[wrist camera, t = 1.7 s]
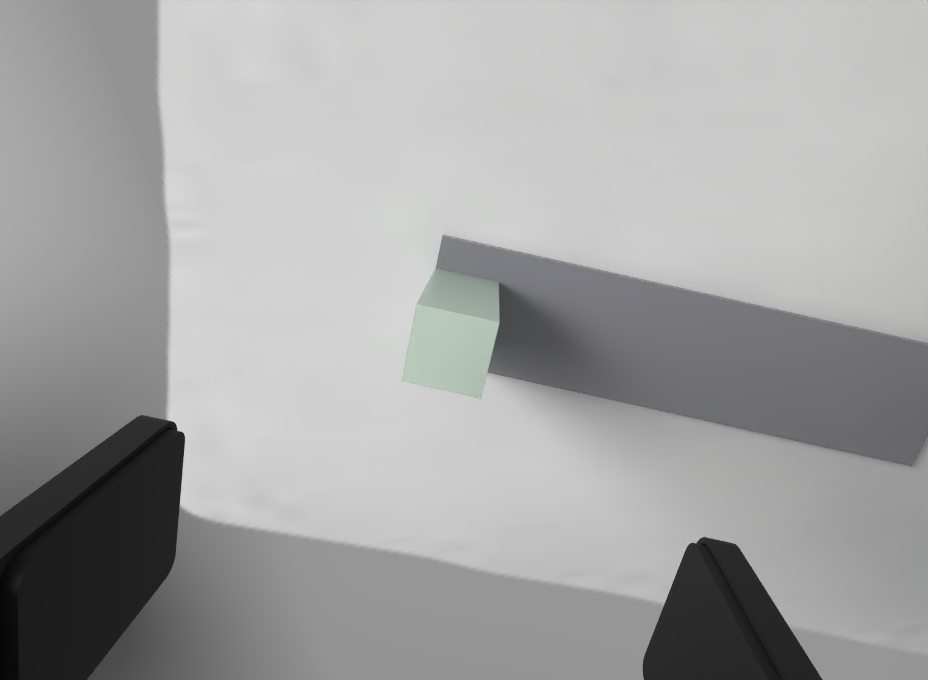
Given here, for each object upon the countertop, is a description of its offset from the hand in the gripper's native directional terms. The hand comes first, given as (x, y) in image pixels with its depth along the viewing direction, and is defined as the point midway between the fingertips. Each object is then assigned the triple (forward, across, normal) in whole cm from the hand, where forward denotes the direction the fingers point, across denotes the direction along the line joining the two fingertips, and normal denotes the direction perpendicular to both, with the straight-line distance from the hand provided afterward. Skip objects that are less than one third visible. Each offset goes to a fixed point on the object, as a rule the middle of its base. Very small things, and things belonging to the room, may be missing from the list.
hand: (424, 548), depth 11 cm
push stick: (+19, -11, 0) cm, 22 cm away
